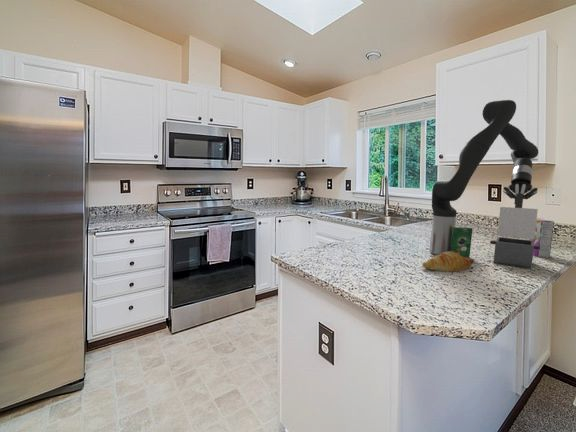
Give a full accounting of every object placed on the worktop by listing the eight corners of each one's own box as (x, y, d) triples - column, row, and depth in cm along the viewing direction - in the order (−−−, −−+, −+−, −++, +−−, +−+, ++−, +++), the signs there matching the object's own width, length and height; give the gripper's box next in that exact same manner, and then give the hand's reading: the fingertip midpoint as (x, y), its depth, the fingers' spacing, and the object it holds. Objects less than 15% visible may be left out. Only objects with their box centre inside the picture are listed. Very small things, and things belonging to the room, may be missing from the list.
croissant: (427, 281, 110) (435, 265, 105) (412, 262, 118) (419, 246, 113) (476, 276, 114) (485, 261, 110) (459, 258, 122) (467, 243, 118)
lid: (501, 192, 129) (502, 193, 130) (497, 235, 130) (497, 235, 131) (539, 194, 121) (539, 194, 123) (534, 239, 122) (534, 239, 123)
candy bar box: (522, 251, 143) (527, 216, 141) (535, 251, 142) (539, 217, 140) (537, 257, 132) (541, 220, 130) (550, 258, 131) (555, 220, 129)
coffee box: (465, 255, 133) (467, 226, 132) (470, 257, 131) (473, 227, 129) (449, 256, 132) (452, 226, 130) (454, 258, 129) (457, 228, 127)
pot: (487, 262, 123) (489, 240, 122) (490, 256, 132) (492, 236, 131) (538, 270, 113) (541, 246, 112) (536, 263, 123) (539, 241, 121)
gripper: (504, 170, 142) (500, 197, 134) (540, 171, 134) (538, 199, 126) (503, 182, 147) (499, 208, 139) (538, 182, 139) (536, 211, 131)
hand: (518, 204), depth 133 cm, fingers closed
